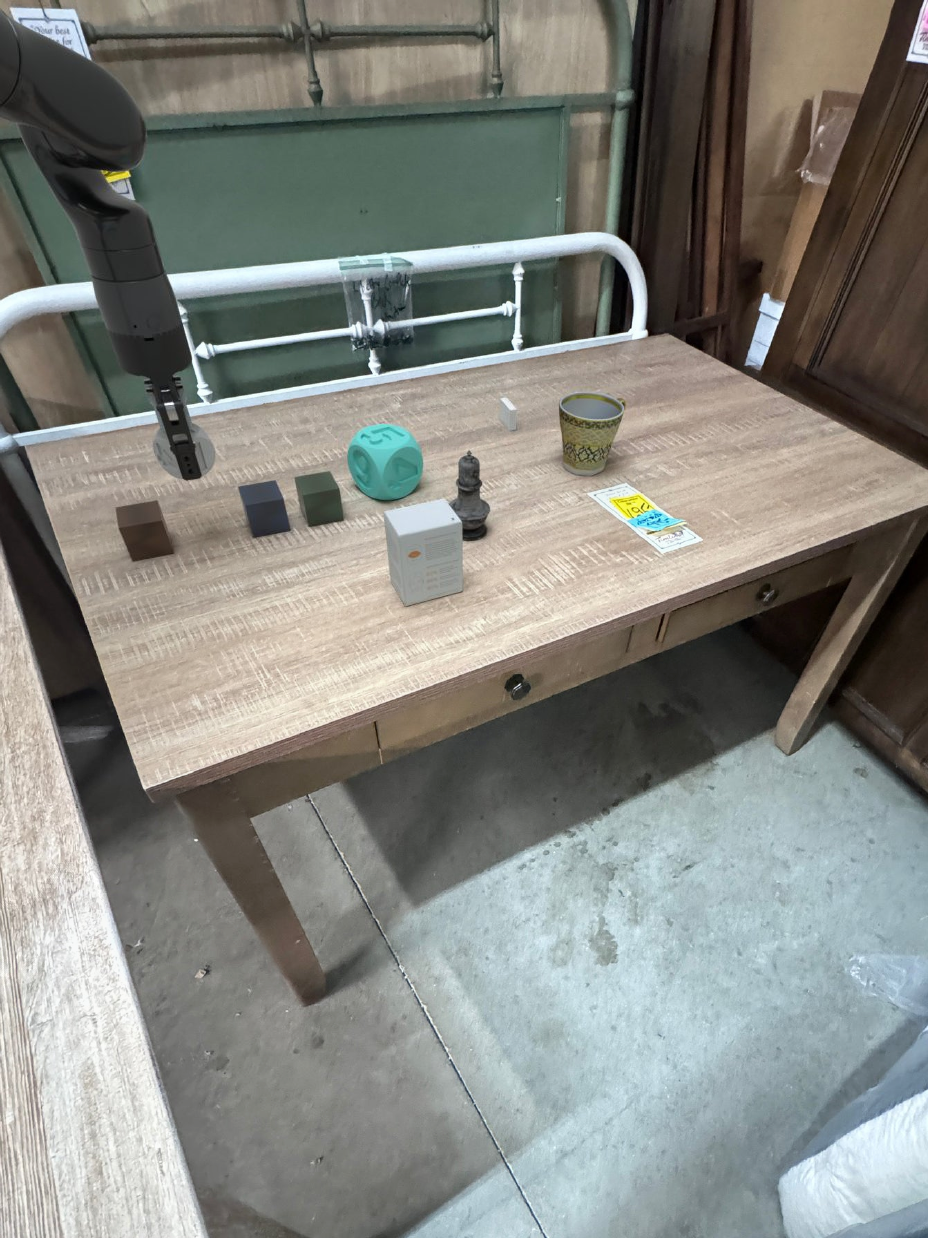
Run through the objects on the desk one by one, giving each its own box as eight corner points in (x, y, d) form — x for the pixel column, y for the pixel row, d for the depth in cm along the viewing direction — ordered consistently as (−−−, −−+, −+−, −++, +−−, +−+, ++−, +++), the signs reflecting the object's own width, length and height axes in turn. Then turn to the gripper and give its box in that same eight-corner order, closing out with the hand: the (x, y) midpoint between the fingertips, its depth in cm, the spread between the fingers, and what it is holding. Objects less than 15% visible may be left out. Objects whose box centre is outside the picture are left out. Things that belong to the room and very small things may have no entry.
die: (188, 484, 83) (175, 445, 79) (160, 471, 85) (146, 432, 81) (220, 467, 86) (210, 429, 82) (193, 455, 88) (181, 417, 84)
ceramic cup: (583, 488, 106) (592, 426, 99) (540, 462, 111) (545, 401, 104) (638, 464, 113) (650, 404, 105) (595, 440, 118) (604, 381, 110)
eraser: (505, 417, 122) (506, 397, 119) (515, 430, 119) (517, 409, 116) (499, 418, 121) (499, 397, 119) (509, 431, 118) (510, 410, 116)
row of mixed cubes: (132, 561, 87) (118, 527, 84) (129, 540, 91) (115, 507, 87) (344, 519, 97) (339, 488, 93) (334, 502, 100) (329, 470, 96)
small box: (447, 567, 90) (445, 496, 83) (464, 592, 87) (463, 520, 79) (389, 581, 88) (381, 509, 80) (404, 607, 84) (398, 535, 77)
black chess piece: (458, 545, 94) (457, 465, 85) (441, 523, 97) (439, 444, 89) (496, 536, 96) (499, 456, 87) (478, 515, 99) (480, 436, 91)
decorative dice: (425, 487, 104) (423, 437, 98) (384, 506, 100) (379, 455, 94) (391, 467, 107) (387, 418, 101) (349, 485, 103) (343, 434, 97)
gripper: (100, 300, 76) (149, 442, 88) (108, 347, 67) (162, 498, 79) (172, 294, 78) (211, 433, 90) (189, 339, 70) (230, 487, 82)
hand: (188, 463), depth 85 cm, fingers closed on die, 7 cm apart
